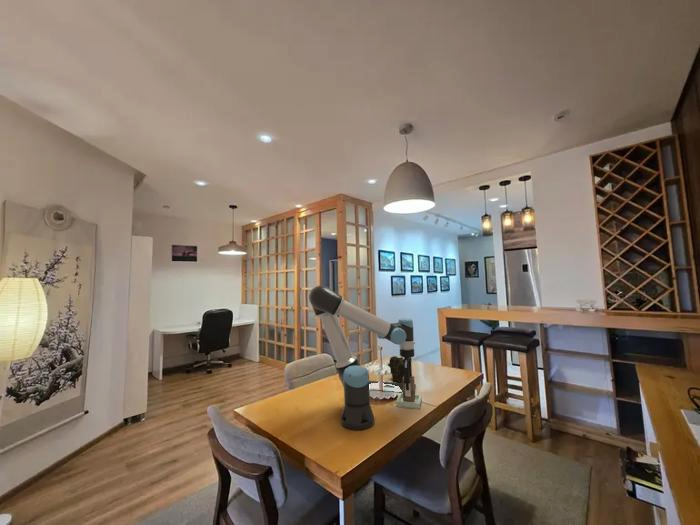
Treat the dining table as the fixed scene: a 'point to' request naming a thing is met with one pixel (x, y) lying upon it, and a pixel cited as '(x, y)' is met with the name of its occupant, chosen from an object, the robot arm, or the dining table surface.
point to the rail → (390, 383)
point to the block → (412, 386)
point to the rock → (396, 368)
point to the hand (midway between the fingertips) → (408, 393)
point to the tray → (407, 404)
